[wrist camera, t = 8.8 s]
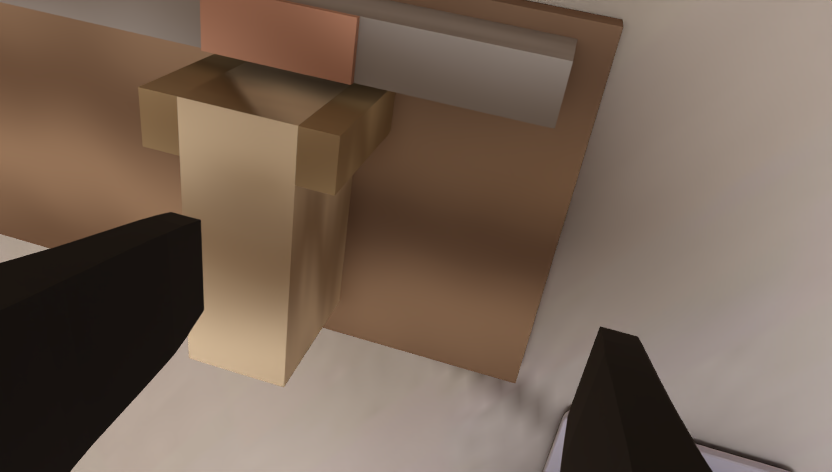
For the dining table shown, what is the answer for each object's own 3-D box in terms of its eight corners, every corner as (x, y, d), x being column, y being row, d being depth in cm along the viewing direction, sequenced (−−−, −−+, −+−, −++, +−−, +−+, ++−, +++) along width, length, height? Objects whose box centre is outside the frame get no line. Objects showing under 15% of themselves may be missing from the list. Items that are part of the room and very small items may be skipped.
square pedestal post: (366, 308, 22) (316, 397, 18) (233, 270, 23) (158, 348, 19) (396, 82, 18) (340, 136, 14) (233, 45, 19) (138, 87, 15)
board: (518, 364, 23) (504, 439, 20) (-137, 177, 27) (-232, 215, 24) (622, 19, 17) (625, 50, 14) (-245, -154, 21) (-391, -160, 18)
